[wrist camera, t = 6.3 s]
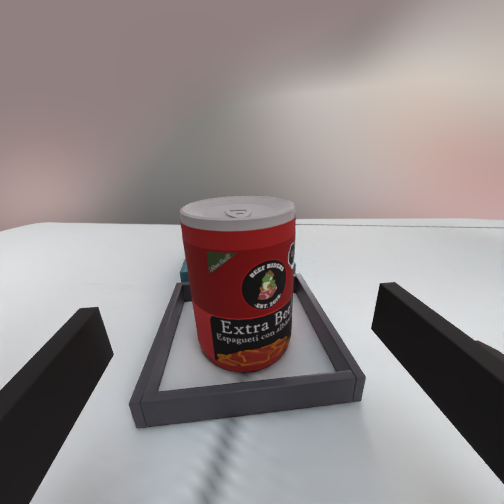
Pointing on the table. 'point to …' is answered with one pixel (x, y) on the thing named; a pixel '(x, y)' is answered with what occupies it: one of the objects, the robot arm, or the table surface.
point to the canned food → (241, 277)
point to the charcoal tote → (245, 393)
